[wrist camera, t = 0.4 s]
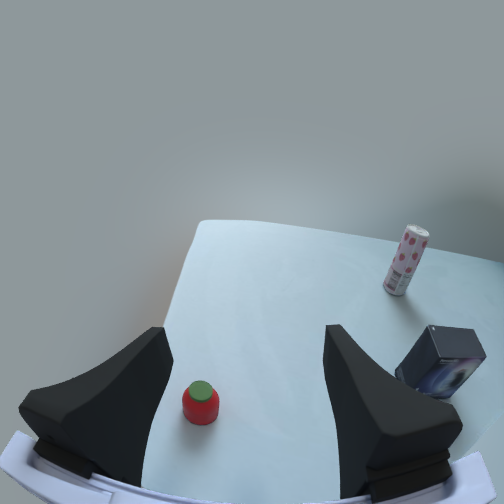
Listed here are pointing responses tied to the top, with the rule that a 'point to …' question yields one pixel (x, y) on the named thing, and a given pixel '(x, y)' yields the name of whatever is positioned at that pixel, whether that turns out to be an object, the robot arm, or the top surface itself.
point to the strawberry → (200, 403)
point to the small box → (441, 361)
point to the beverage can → (406, 259)
